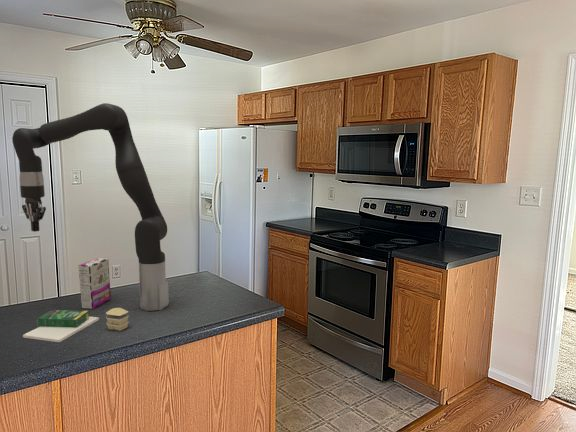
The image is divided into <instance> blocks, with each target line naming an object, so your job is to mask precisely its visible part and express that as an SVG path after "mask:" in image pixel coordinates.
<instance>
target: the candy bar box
mask: <svg viewBox="0 0 576 432" xmlns="http://www.w3.org/2000/svg"><path fill="white" fill-rule="evenodd" d="M78 273H79V274H78V277H79V287H80V289H79V290H80V301H81V303H80V304H81V308H82V309H86V310H93V309H96V308H97V307H98V308H99V306H101V305H103V304H105V303H106V302H108V301H110V300H111V299H112V297H111V282H110V281H111V280H110V266H109V257H108V258H106V257H96V258H94V259H91V260H88V261H85V262H84V263H81V264H78Z"/></svg>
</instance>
